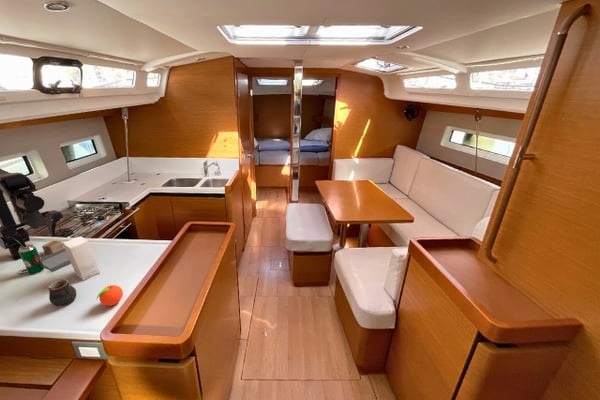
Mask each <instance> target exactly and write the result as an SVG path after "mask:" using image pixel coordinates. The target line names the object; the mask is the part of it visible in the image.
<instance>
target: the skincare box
mask: <svg viewBox="0 0 600 400" xmlns="http://www.w3.org/2000/svg"><path fill="white" fill-rule="evenodd" d="M62 244H63V247H64V248H65V250H66V253H67V255H68V257H69V259H70V262H71V264H70V265H71V266H72V268H73V271H74V273H75V275H76V276H77V277H78V278H80V279H81V280H82V281H86V280H88V279H89V278H92V277H94V276H97V275H99V274H100V273H101V270H100V267H99V266H98V263H97V261H96V258H95V255H94V253H93V249H92V248H91V246H90V242H89V240H87V239H85V238H84V237H82V236H81V235H80V236H78V237H75V238H72V239H70V240H66V241H64V242H62Z"/></svg>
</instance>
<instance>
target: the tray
mask: <svg viewBox="0 0 600 400" xmlns="http://www.w3.org/2000/svg"><path fill="white" fill-rule="evenodd" d="M40 258H41V261H42V263H43V265H44V268H47V269H49V270H51V271H53V272H56V271H57V270H60V269H63V268H64V267H67V266H69V265H72V264H71V262H70V259H69V257H68V255H67V253H66V250H65V248H64V249H62V250H59V251H57V252H54V253H52V254H50V255H45V256H43V257H40Z"/></svg>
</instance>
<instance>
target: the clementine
mask: <svg viewBox="0 0 600 400" xmlns="http://www.w3.org/2000/svg"><path fill="white" fill-rule="evenodd" d="M123 296H124V290H123V289H122V287H120V286H119V285H116V284H112V285H111V284H109V285H108V286H106V287H104V288H103V289H102V290H100V292H99V293H98V295H97V296H96V301H98V298H99V302H100V303H101V304H102V305H104V306H106V307H107V306H114V305H117V304H118V303H119V302H120V301H121V299H122V298H123Z"/></svg>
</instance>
